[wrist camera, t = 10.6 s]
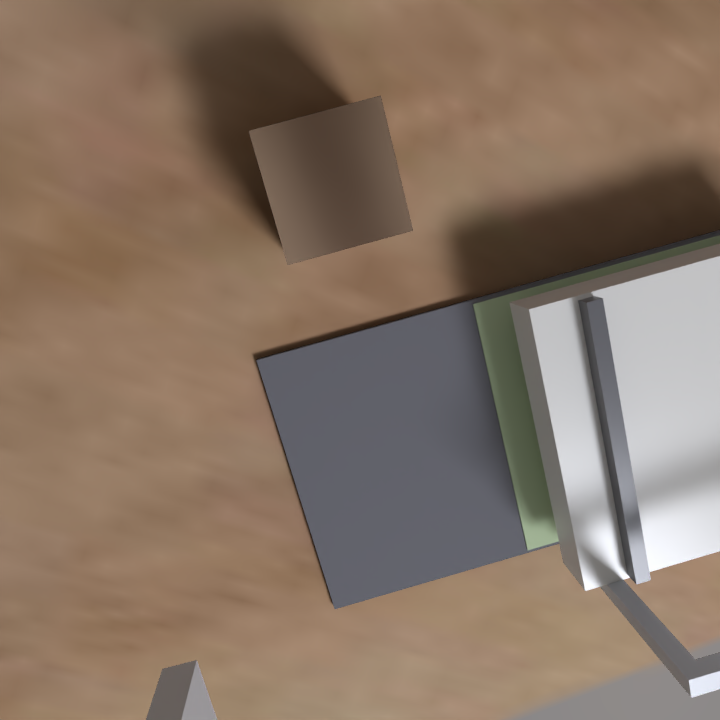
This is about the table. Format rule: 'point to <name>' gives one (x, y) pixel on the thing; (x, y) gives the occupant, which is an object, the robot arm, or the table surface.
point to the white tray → (631, 430)
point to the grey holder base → (421, 440)
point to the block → (332, 179)
